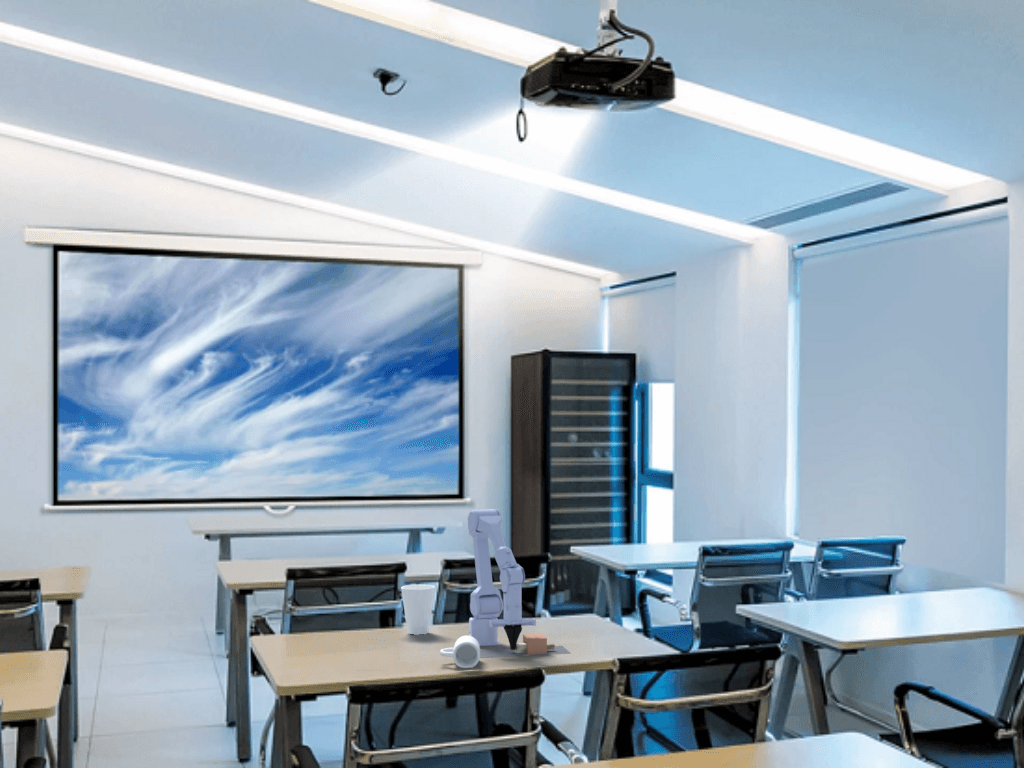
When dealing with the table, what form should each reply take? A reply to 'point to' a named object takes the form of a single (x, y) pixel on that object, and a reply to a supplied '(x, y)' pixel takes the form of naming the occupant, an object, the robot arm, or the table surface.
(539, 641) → the salmon orange block
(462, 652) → the mug
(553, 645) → the cream rectangular block
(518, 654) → the felt mat
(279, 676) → the table surface
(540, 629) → the table surface
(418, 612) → the cup
